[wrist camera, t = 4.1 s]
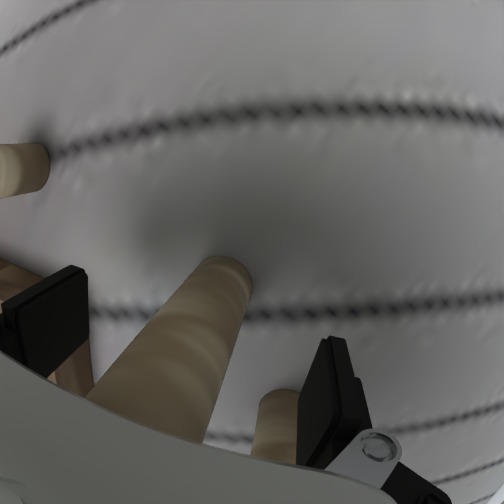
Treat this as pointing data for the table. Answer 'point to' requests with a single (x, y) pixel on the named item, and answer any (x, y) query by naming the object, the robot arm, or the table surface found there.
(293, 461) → the medium pin
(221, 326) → the long pin
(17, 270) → the hole block
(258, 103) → the table surface
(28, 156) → the short pin
